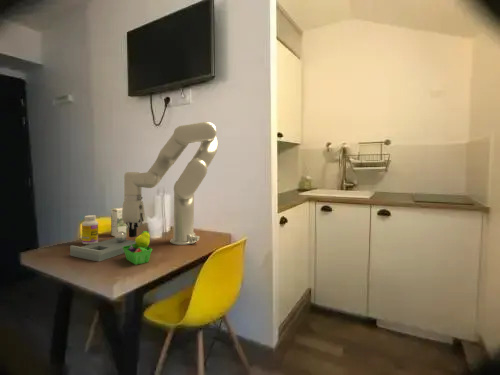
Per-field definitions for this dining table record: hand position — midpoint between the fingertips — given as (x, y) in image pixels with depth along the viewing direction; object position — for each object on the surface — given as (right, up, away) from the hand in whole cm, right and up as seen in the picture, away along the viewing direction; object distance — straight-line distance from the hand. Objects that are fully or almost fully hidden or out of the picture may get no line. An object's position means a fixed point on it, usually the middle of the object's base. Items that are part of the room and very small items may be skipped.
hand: (132, 236), depth 135 cm
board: (-5, -4, -13) cm, 15 cm away
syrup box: (-13, -2, +15) cm, 20 cm away
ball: (-3, +1, -7) cm, 7 cm away
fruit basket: (+12, -6, -23) cm, 27 cm away
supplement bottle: (-20, -3, -1) cm, 20 cm away
